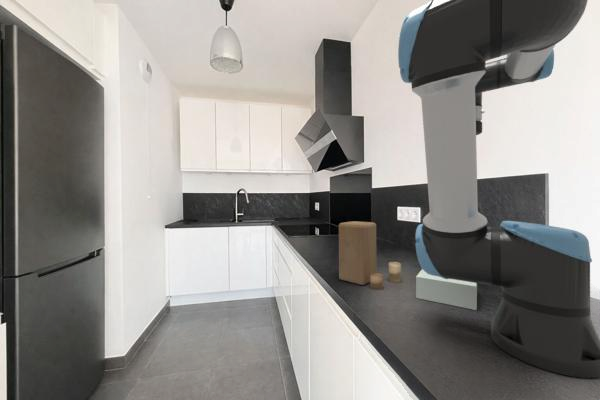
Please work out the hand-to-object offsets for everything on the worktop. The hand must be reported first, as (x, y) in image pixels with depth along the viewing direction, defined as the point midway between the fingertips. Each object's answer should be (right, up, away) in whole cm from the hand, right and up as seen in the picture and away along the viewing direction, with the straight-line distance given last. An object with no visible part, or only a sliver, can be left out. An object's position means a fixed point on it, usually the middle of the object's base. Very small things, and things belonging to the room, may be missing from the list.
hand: (468, 187), depth 82 cm
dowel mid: (-23, -32, +3) cm, 40 cm away
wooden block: (-36, -32, +5) cm, 48 cm away
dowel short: (-31, -32, -3) cm, 45 cm away
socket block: (-13, -32, -10) cm, 36 cm away
